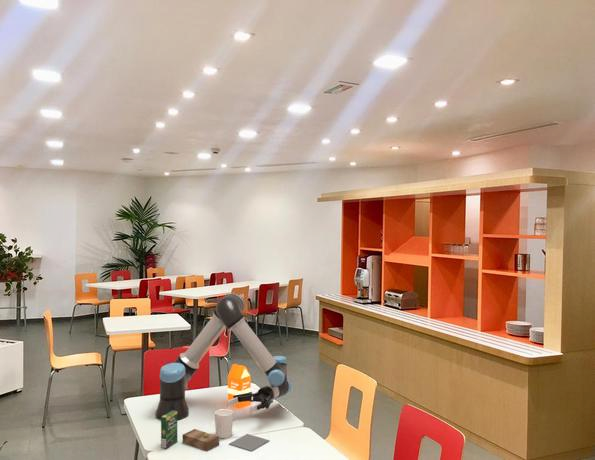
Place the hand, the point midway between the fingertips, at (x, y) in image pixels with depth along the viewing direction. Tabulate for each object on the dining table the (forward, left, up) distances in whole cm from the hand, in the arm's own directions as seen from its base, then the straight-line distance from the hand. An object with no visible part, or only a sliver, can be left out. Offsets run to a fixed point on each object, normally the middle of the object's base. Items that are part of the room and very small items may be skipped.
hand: (239, 407), depth 226 cm
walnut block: (-2, -22, -9) cm, 24 cm away
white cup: (0, -10, -9) cm, 14 cm away
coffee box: (-12, -30, -9) cm, 34 cm away
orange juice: (-19, +23, -10) cm, 32 cm away
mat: (+14, -10, -9) cm, 19 cm away
